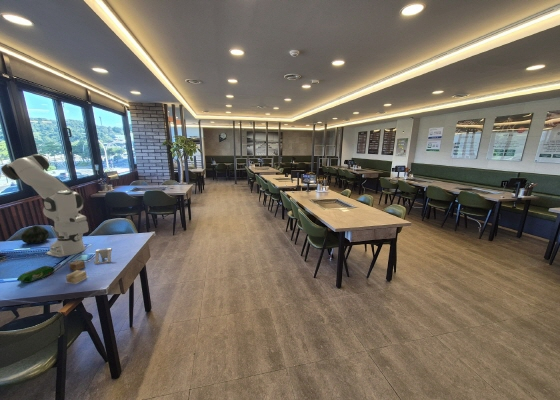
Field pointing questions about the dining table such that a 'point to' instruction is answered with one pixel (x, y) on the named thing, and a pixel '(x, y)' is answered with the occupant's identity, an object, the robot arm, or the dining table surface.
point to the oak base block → (76, 276)
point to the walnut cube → (76, 265)
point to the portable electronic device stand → (103, 255)
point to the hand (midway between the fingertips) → (73, 239)
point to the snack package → (36, 274)
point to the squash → (35, 234)
